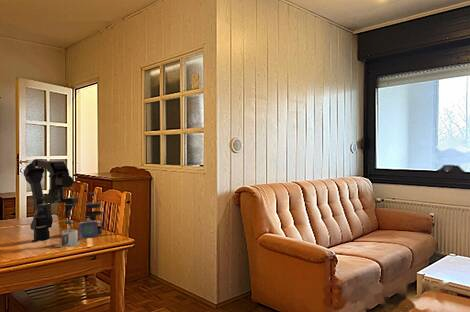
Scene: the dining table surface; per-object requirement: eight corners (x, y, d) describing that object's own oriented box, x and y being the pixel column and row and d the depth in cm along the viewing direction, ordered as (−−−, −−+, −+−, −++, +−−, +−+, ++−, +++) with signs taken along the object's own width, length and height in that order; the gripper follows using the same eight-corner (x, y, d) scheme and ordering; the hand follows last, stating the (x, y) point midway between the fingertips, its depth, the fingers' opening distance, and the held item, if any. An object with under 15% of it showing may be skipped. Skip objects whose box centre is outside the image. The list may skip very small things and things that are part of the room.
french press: (83, 236, 193) (83, 193, 193) (82, 233, 202) (81, 192, 201) (106, 233, 199) (106, 192, 199) (104, 230, 207) (103, 191, 207)
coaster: (53, 247, 170) (53, 246, 170) (66, 242, 180) (65, 241, 180) (73, 248, 169) (73, 246, 169) (84, 242, 179) (84, 241, 179)
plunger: (63, 234, 172) (63, 221, 172) (68, 232, 176) (67, 220, 176) (71, 234, 172) (70, 221, 172) (75, 232, 176) (75, 220, 176)
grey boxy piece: (55, 246, 169) (55, 233, 169) (67, 242, 178) (66, 229, 178) (69, 247, 168) (69, 233, 168) (80, 242, 177) (79, 229, 177)
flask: (79, 240, 184) (79, 219, 184) (78, 239, 187) (78, 218, 187) (98, 238, 189) (97, 217, 189) (97, 237, 191) (96, 217, 191)
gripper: (28, 188, 168) (28, 221, 168) (66, 188, 167) (67, 221, 167) (42, 186, 179) (42, 217, 179) (78, 185, 178) (79, 217, 178)
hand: (57, 218), depth 175 cm, fingers open, 9 cm apart
